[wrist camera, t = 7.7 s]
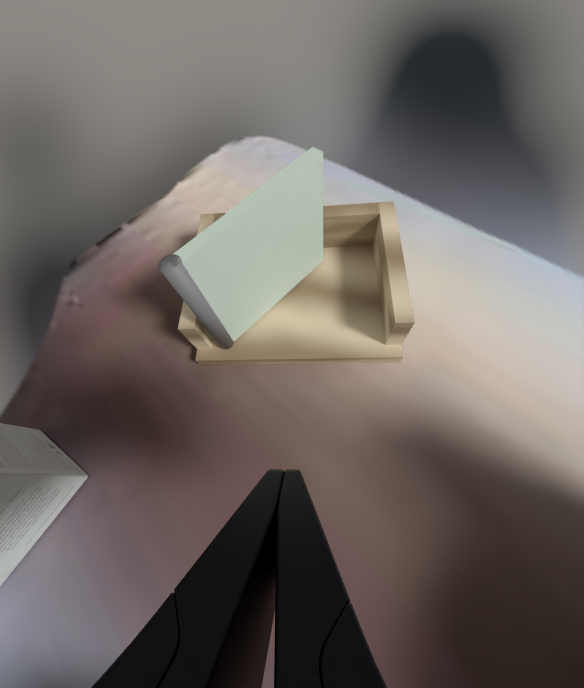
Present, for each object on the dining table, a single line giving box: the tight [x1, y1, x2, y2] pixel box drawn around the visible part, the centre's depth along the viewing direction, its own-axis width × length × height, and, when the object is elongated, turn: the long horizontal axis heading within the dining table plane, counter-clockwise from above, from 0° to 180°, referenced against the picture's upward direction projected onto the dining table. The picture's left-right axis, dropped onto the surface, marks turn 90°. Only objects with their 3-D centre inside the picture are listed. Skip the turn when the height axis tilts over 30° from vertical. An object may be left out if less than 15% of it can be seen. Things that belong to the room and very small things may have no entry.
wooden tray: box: [178, 202, 415, 365], centre depth 24 cm, size 12×16×4 cm
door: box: [159, 147, 323, 349], centre depth 20 cm, size 1×12×10 cm, turn 136°
